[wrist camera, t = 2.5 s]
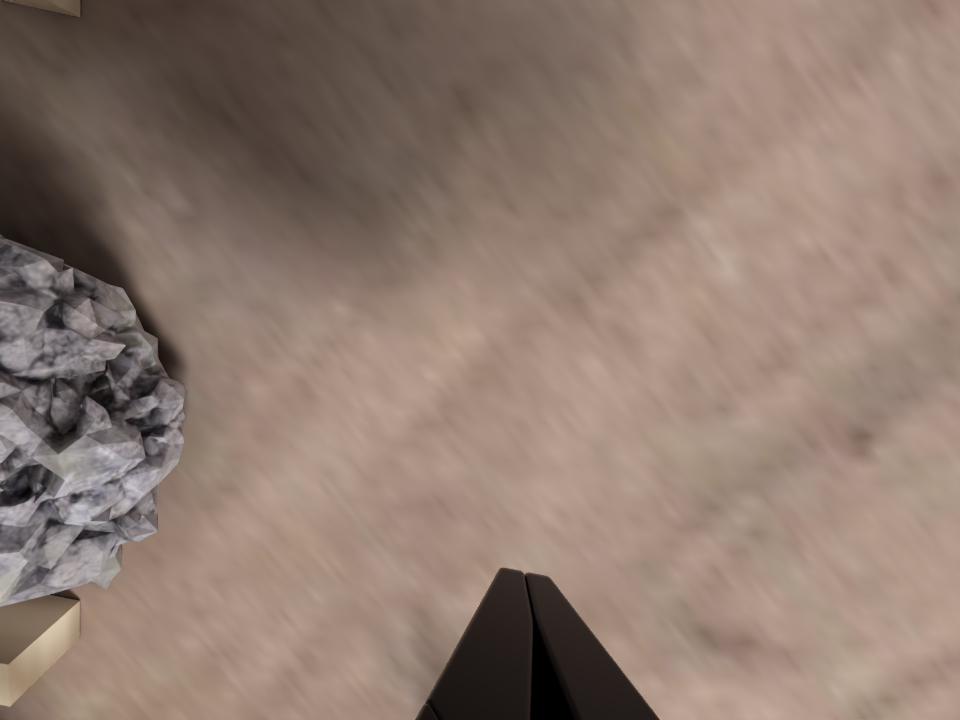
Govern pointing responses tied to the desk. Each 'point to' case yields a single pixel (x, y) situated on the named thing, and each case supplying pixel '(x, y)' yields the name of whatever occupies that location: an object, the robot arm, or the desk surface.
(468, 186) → the desk surface
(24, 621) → the corridor walls
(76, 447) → the mineral specimen
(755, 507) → the desk surface
